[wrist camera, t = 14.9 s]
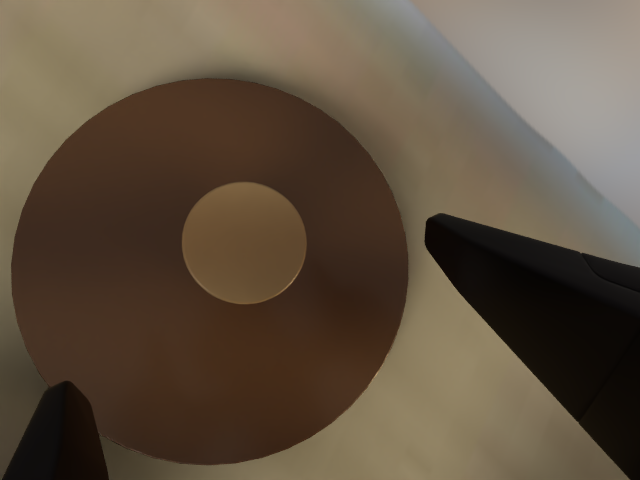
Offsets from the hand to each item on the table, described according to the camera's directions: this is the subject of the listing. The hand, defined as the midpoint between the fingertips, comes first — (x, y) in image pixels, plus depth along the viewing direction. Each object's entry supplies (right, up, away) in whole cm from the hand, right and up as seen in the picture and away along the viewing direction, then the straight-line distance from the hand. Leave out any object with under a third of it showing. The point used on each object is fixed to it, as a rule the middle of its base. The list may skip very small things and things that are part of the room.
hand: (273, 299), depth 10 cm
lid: (-2, +1, +6) cm, 7 cm away
